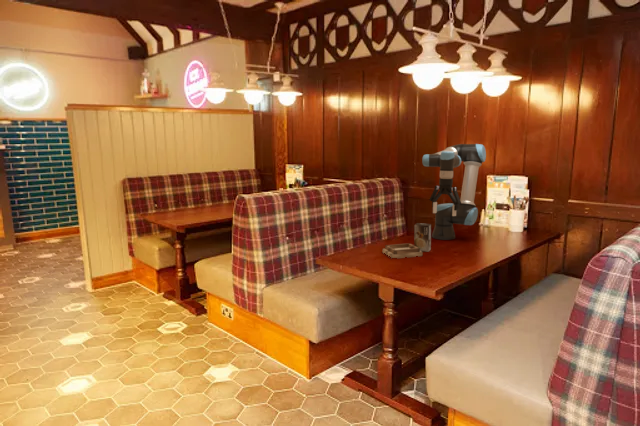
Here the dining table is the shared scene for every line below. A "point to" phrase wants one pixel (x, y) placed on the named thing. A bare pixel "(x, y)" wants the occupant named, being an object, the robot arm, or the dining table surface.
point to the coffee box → (422, 236)
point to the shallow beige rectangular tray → (402, 250)
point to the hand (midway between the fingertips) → (444, 214)
